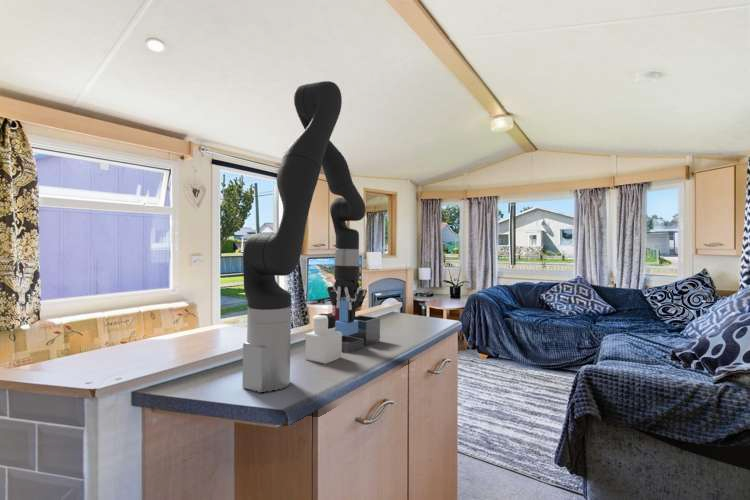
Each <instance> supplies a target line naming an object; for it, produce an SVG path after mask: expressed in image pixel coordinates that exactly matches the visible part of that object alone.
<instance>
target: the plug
mask: <svg viewBox="0 0 750 500" xmlns="http://www.w3.org/2000/svg"><path fill="white" fill-rule="evenodd" d="M348 310H349V307H348V302H347V300H346V299H342V300H340V301H339V320H338V321H335V330H334V331H338V332H342V335H346V336H349V335H352V334H354V333H357V332H358V321H357V320H354V322H348Z"/></svg>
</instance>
